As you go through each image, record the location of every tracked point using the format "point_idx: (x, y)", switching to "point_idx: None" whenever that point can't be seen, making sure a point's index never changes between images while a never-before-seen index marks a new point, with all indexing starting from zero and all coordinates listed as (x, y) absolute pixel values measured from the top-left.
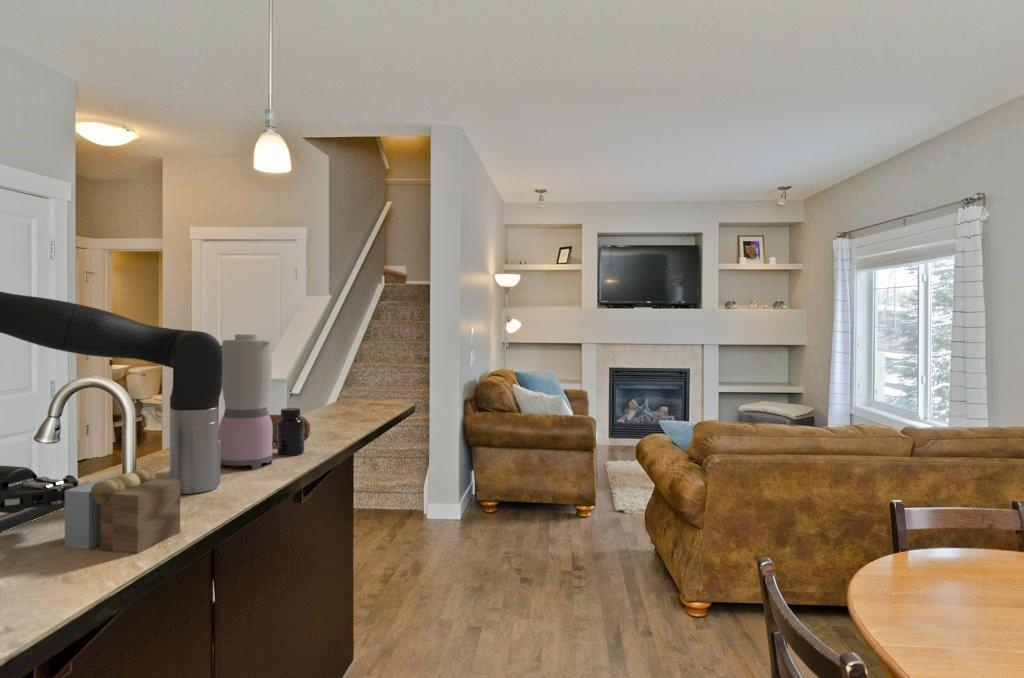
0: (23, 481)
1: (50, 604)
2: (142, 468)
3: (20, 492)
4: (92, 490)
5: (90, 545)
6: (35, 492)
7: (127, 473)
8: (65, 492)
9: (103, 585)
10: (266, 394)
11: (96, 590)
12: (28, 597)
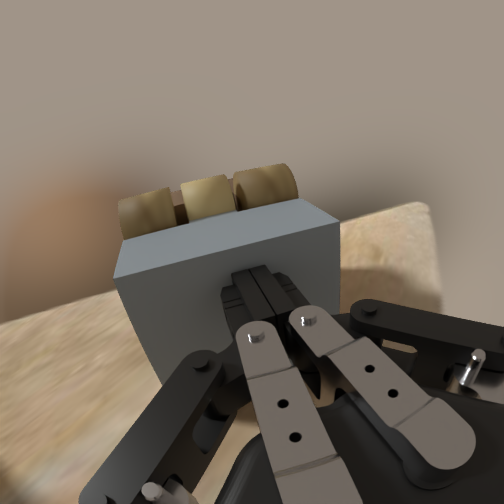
0: (467, 454)
1: (399, 225)
2: (133, 197)
3: (470, 337)
4: (295, 190)
5: None
6: (414, 309)
7: (192, 181)
8: (338, 226)
9: (348, 230)
10: None
11: (358, 226)
12: (417, 241)
